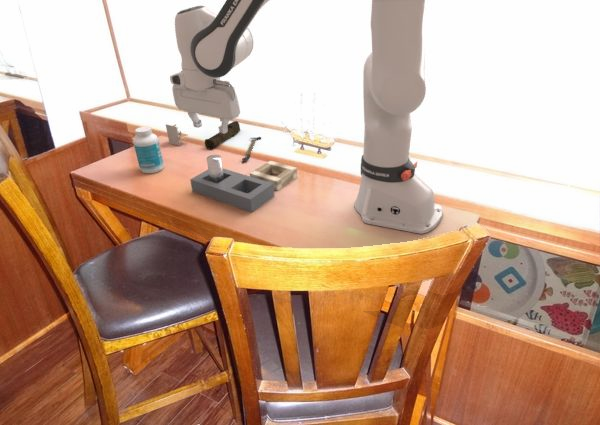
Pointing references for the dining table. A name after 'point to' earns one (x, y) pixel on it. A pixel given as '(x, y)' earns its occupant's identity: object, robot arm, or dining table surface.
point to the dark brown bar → (222, 135)
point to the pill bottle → (148, 150)
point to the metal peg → (215, 168)
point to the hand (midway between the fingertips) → (210, 129)
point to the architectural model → (174, 134)
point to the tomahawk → (250, 148)
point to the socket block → (282, 170)
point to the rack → (234, 189)
